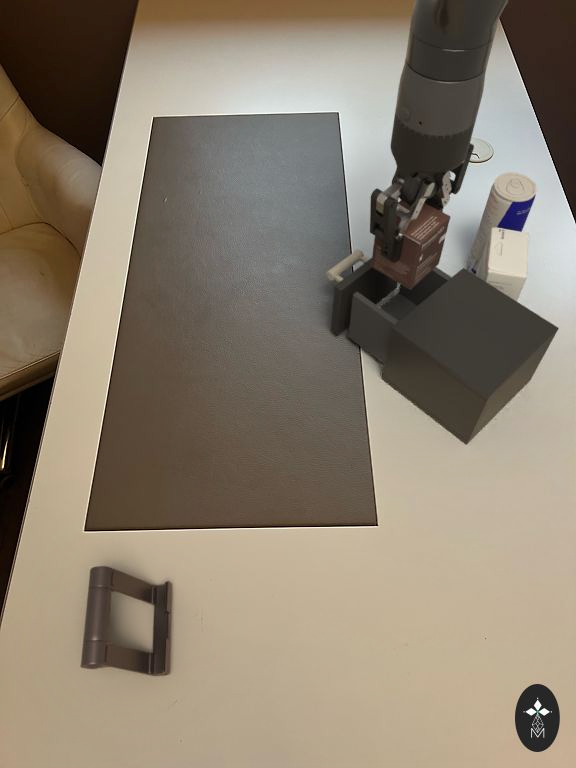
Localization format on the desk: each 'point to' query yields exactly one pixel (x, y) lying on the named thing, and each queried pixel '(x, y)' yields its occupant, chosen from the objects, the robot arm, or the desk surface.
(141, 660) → the tablet stand
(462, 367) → the cabinet
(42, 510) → the desk surface
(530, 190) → the beverage can
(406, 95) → the robot arm
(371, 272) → the drawer
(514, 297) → the ink box
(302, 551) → the desk surface
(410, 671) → the desk surface
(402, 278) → the box
